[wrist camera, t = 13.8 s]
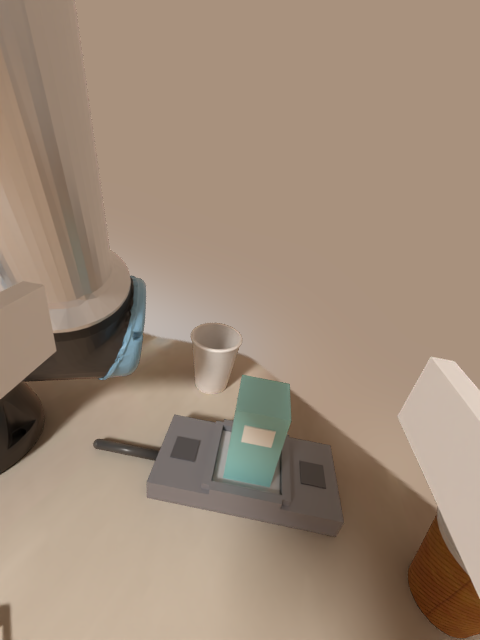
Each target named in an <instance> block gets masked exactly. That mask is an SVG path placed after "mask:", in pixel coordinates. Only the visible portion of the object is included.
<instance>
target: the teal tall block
mask: <svg viewBox="0 0 480 640" xmlns="http://www.w3.org/2000/svg"><path fill="white" fill-rule="evenodd" d="M290 423H291V404H290V384H287V383H283V382H277V381H272V380H267V379H262V378H256V377H251V376H246V375H242V378H241V384H240V389H239V394H238V399H237V405H236V410H235V415H234V420H233V426H232V431H231V436H230V442H229V447H228V453H227V459H226V464H225V470H224V475H223V478H226V479H231V480H236V481H241V482H246V483H251V484H256V485H261V486H266V487H270V485H271V482H272V479H273V476H274V472H275V469H276V466H277V463H278V460H279V457H280V454H281V451H282V448H283V445H284V442H285V438H286V435H287V432H288V429H289V426H290Z"/></svg>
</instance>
